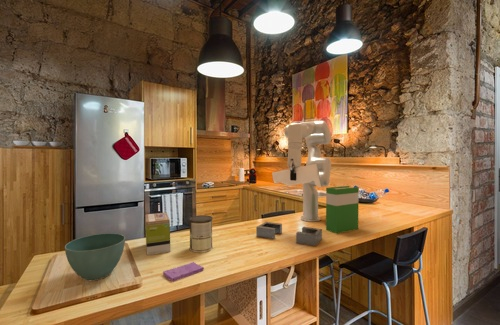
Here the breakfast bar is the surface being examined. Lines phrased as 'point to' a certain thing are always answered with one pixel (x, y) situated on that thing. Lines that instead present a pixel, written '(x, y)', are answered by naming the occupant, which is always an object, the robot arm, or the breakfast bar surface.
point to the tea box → (157, 233)
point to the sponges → (182, 271)
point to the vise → (305, 237)
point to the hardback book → (342, 209)
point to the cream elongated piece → (298, 176)
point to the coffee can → (200, 233)
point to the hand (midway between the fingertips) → (295, 179)
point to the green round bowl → (95, 254)
